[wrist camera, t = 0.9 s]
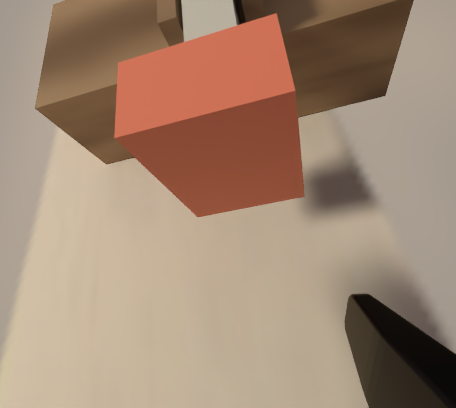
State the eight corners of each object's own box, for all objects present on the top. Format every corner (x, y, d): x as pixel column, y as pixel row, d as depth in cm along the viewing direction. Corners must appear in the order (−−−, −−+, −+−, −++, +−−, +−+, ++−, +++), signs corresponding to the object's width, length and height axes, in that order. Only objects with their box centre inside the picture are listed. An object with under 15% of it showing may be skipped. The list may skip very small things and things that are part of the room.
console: (385, 95, 18) (433, -69, 10) (105, 164, 21) (-5, 77, 14) (349, 3, 21) (367, -173, 14) (111, 76, 24) (23, -33, 17)
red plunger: (304, 196, 12) (295, 90, 7) (198, 217, 13) (114, 137, 8) (257, -16, 17) (231, -172, 12) (183, 9, 18) (127, -126, 13)
